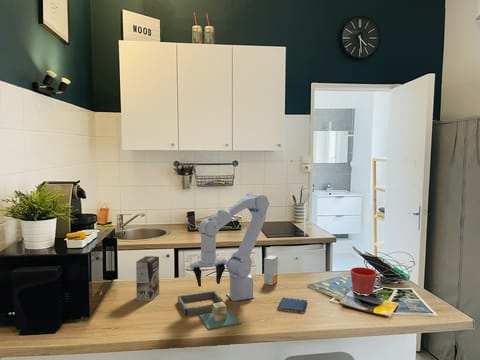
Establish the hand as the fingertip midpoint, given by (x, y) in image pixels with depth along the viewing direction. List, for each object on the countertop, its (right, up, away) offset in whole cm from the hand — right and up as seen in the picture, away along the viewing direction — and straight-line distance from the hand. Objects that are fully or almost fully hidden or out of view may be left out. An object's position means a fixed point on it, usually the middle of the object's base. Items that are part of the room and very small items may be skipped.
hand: (208, 284), depth 145 cm
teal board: (+5, -9, -12) cm, 16 cm away
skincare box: (+27, -7, +26) cm, 38 cm away
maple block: (+5, -9, -12) cm, 16 cm away
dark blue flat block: (+33, -9, -1) cm, 34 cm away
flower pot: (+65, -8, +13) cm, 67 cm away
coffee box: (-26, -8, +9) cm, 29 cm away
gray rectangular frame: (-3, -8, 0) cm, 9 cm away
